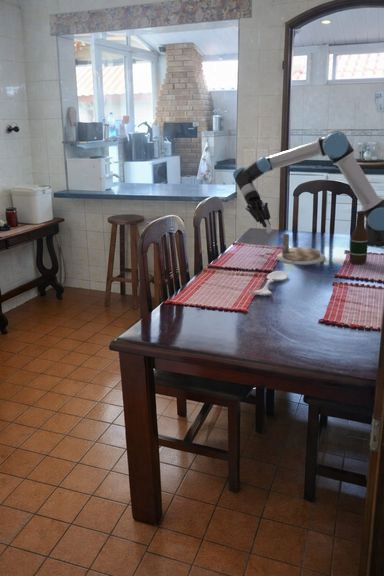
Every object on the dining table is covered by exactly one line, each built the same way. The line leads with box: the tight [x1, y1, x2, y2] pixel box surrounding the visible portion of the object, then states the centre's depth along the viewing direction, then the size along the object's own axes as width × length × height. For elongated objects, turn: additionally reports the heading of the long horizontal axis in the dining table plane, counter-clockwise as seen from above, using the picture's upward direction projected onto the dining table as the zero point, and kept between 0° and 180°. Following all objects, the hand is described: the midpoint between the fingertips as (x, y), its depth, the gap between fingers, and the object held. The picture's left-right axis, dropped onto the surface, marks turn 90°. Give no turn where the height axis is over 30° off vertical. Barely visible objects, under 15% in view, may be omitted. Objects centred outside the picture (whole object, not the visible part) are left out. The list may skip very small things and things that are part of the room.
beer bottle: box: [349, 210, 369, 265], centre depth 237 cm, size 8×8×24 cm
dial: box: [281, 233, 321, 261], centre depth 249 cm, size 18×18×11 cm
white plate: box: [276, 252, 326, 266], centre depth 251 cm, size 23×23×1 cm
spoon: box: [248, 270, 289, 296], centre depth 212 cm, size 9×32×4 cm, turn 155°
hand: (270, 231), depth 256 cm, fingers closed
